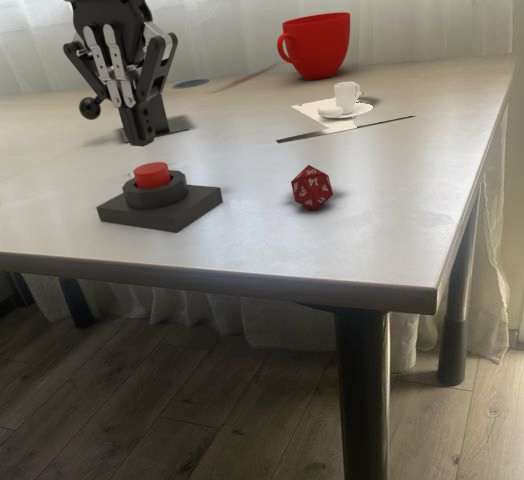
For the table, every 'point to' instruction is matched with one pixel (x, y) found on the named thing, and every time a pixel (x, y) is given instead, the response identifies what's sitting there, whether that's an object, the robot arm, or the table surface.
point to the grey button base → (160, 204)
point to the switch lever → (90, 107)
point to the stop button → (152, 175)
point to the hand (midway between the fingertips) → (143, 143)
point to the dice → (311, 188)
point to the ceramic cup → (316, 43)
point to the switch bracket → (161, 119)
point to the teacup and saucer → (333, 111)
